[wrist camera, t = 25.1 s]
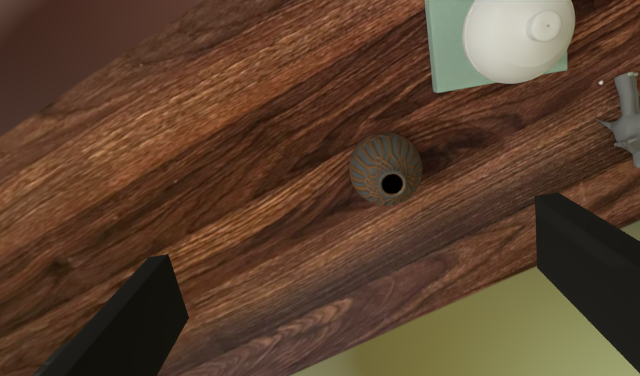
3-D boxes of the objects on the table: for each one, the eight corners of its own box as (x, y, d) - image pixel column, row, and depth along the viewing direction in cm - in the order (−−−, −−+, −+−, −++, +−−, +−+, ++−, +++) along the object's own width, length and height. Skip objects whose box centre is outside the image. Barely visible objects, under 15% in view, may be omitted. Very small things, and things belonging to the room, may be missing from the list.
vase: (425, 172, 43) (447, 199, 35) (366, 202, 44) (374, 235, 36) (396, 114, 42) (412, 129, 33) (336, 147, 43) (336, 169, 34)
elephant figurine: (678, 69, 39) (696, 161, 39) (606, 88, 44) (621, 171, 44) (647, 56, 33) (667, 165, 33) (567, 80, 38) (584, 176, 38)
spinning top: (452, 91, 39) (502, 104, 28) (430, 9, 37) (473, -13, 25) (533, 60, 38) (620, 62, 26) (515, -25, 36) (600, -64, 24)
